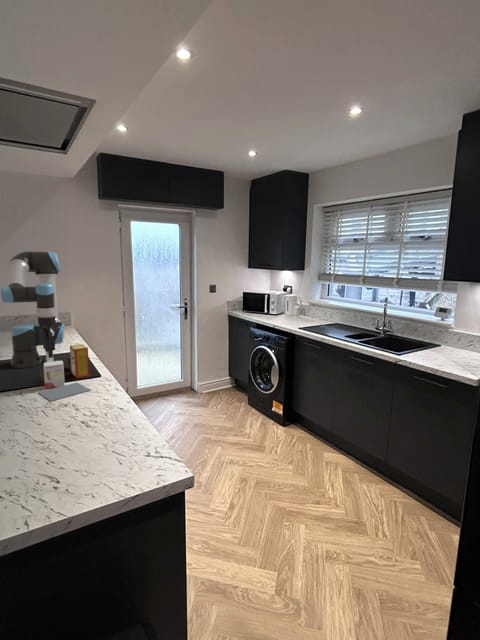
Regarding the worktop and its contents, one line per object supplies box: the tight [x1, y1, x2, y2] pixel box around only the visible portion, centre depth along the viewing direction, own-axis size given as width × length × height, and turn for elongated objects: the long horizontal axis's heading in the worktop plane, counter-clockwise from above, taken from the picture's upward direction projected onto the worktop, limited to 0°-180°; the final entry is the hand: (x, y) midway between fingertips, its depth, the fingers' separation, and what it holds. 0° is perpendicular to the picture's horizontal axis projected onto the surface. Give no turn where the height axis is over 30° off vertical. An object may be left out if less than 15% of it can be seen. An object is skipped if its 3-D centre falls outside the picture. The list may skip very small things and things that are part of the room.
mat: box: [38, 382, 91, 402], centre depth 166 cm, size 14×18×1 cm
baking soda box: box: [69, 343, 90, 379], centre depth 188 cm, size 10×6×16 cm
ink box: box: [43, 360, 66, 390], centre depth 171 cm, size 9×5×12 cm, turn 120°
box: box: [67, 356, 71, 371], centre depth 198 cm, size 6×6×7 cm
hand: (50, 363), depth 173 cm, fingers closed
